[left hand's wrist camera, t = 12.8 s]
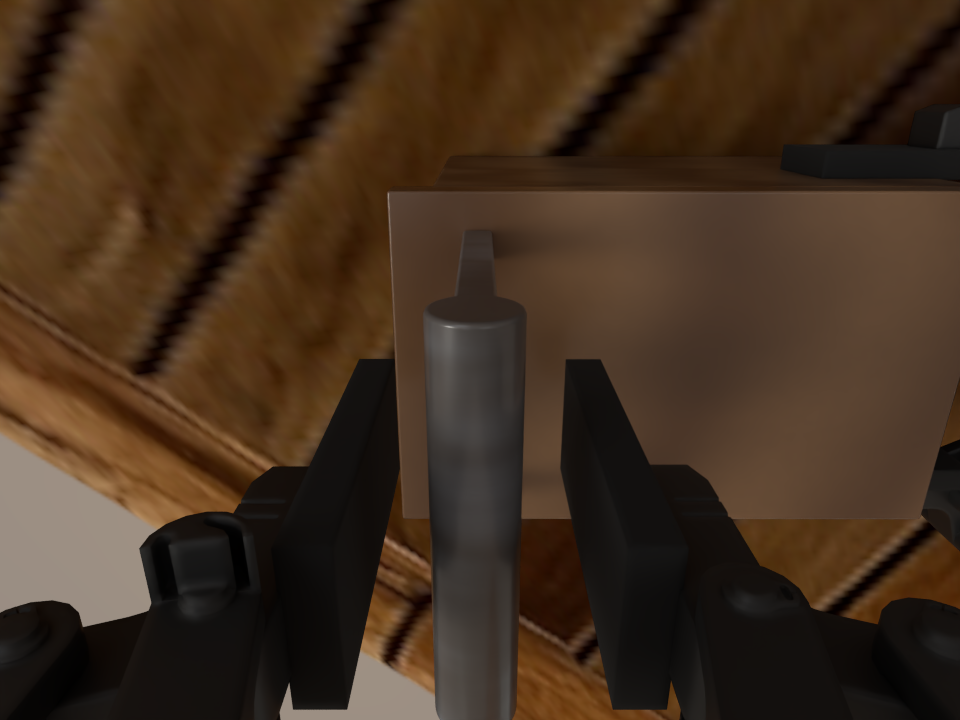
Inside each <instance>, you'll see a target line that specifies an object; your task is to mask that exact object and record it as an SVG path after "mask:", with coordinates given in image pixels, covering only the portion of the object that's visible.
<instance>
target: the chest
mask: <svg viewBox="0 0 960 720" xmlns="http://www.w3.org/2000/svg"><path fill="white" fill-rule="evenodd" d="M781 160H782V156H451V157H450V158H449V159H448V161H447V163H446V164H445V166H444V168H443V170H442V172H441V173H440V175H439V177H438V179H437V180H436V182H435V184H434V186H433V187H960V182H954V181H948V180H942V179H821V178H816V177H812V176H808V175H803V174H799V173H794V172H790V171H785V170H781V169H780V167H781Z"/></svg>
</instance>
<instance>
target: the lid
mask: <svg viewBox="0 0 960 720" xmlns="http://www.w3.org/2000/svg"><path fill="white" fill-rule="evenodd" d="M387 207H388V227H389V247H390V267H391V288H392V308H393V328H394V348H395V369H396V389H397V409H398V429H399V450H400V470H401V490H402V510H403V518H413V519H430V549H431V580H432V611H433V642H434V673H435V704H436V711H437V715H438V717H439V719H440V720H512V718H513V716H514V714H515V711H516V702H517V666H518V629H519V592H520V556H521V519H571V516H570V511H569V506H568V502H567V497H566V493H565V488H564V484H563V479H562V474H561V470H560V462H561V442H562V422H563V403H564V383H565V363H566V359H601V361H602V363H603V366H604V368H605V370H606V372H607V374H608V376H609V378H610V380H611V383H612V385H613V387H614V389H615V391H616V393H617V395H618V398H619V400H620V402H621V404H622V406H623V408H624V410H625V413H626V415H627V417H628V419H629V421H630V423H631V425H632V427H633V430H634V432H635V434H636V436H637V438H638V440H639V442H640V445H641V447H642V449H643V451H644V453H645V455H646V457H647V460H648V462H649V464H650V465H689V466H690V467H691V468H693V469H694V470H695V471H697V472H698V473H699V474H701V475H702V476H703V477H705V478H706V479H707V480H708V481H709V482H710V484H711V486H712V487H713V489H714V490H715V492H716V494H717V495H718V497H719V502H722V504H723V505H724V507H725V509H726V510H727V512H728V517H731V519H919V518H920V516H921V512H922V509H923V505H924V502H925V498H926V495H927V491H928V488H929V484H930V481H931V477H932V473H933V470H934V466H935V463H936V459H937V456H938V452H939V449H940V445H941V442H942V438H943V435H944V431H945V428H946V424H947V421H948V417H949V414H950V410H951V407H952V403H953V400H954V396H955V393H956V389H957V386H958V382H959V379H960V187H392V188H390V189H389V190H388V192H387Z"/></svg>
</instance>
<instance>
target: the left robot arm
mask: <svg viewBox="0 0 960 720" xmlns="http://www.w3.org/2000/svg"><path fill="white" fill-rule="evenodd" d="M399 470H400V462H399V442H398V422H397V402H396V382H395V363H394V359H359V361H358V363H357V366H356V368H355V370H354V372H353V374H352V376H351V378H350V380H349V383H348V385H347V387H346V389H345V391H344V393H343V395H342V398H341V400H340V402H339V404H338V406H337V408H336V410H335V413H334V415H333V417H332V419H331V421H330V423H329V425H328V428H327V430H326V432H325V434H324V436H323V438H322V440H321V442H320V445H319V447H318V449H317V451H316V453H315V455H314V457H313V460H312V462H311V464H310V466H309V467H272V468H270V469H269V470H268V471H266V472H265V473H264V474H262V475H261V476H260V477H258V478H257V479H256V480H254V481H253V482H252V483H251V485H250V487H249V488H248V490H247V492H246V493H245V495H244V497H243V498H242V500H241V504H239V505H238V507H237V508H236V510H235V512H234V513H229V512H203V513H198V514H193V515H188V516H185V517H182V518H180V519H177V520H175V521H173V522H170V523H168V524H165V525H164V526H163V527H161V528H160V529H158V530H157V531H155V532H154V533H152V534H151V535H149V537H148V538H147V539H146V541H145V542H144V543H143V544H142V546H141V547H140V548H139V549H140V554H141V558H142V563H143V567H144V572H145V576H146V580H147V585H148V589H149V594H150V598H151V606H150V609H149V611H147V612H144V613H141V614H137V615H134V616H130V617H126V618H122V619H117V620H113V621H109V622H104V623H100V624H95V625H91V626H87V627H83V626H82V622H81V619H80V615H79V612H78V611H76V610H75V609H74V608H73V607H72V606H71V605H70V604H67V603H62V602H57V601H52V600H51V601H41V602H30V603H27V604H24V605H20V606H17V607H14V608H11V609H8V610H5V611H3V612H1V613H0V720H280V713H279V712H280V709H281V706H282V703H283V700H284V697H285V694H286V690H287V687H288V684H289V683H290V690H291V698H292V705H293V709H294V710H347V708H348V703H349V699H350V694H351V690H352V685H353V680H354V676H355V671H356V667H357V662H358V658H359V653H360V648H361V644H362V639H363V635H364V630H365V626H366V621H367V616H368V612H369V607H370V603H371V598H372V593H373V589H374V584H375V580H376V575H377V571H378V566H379V561H380V557H381V552H382V548H383V543H384V539H385V534H386V529H387V525H388V520H389V516H390V511H391V507H392V502H393V497H394V493H395V488H396V484H397V479H398V475H399ZM560 470H561V474H562V479H563V484H564V488H565V493H566V497H567V502H568V506H569V511H570V516H571V520H572V525H573V529H574V534H575V539H576V543H577V548H578V552H579V557H580V561H581V566H582V571H583V575H584V580H585V584H586V589H587V593H588V598H589V603H590V607H591V612H592V616H593V621H594V625H595V630H596V635H597V639H598V644H599V648H600V653H601V657H602V662H603V667H604V671H605V676H606V680H607V685H608V690H609V694H610V699H611V703H612V708H613V710H667V705H668V698H669V690H670V683H671V681H672V684H673V687H674V690H675V693H676V696H677V699H678V702H679V705H680V708H681V713H680V720H960V609H958V608H956V607H953V606H950V605H947V604H943V603H940V602H937V601H933V600H929V599H918V598H904V599H899V600H895V601H891V602H890V603H889V604H888V605H887V606H886V607H885V608H883V609H882V612H881V615H880V619H879V622H878V624H873V623H869V622H864V621H860V620H855V619H851V618H846V617H842V616H837V615H833V614H829V613H826V612H822V611H819V610H815V609H813V608H811V607H810V605H809V602H808V601H807V599H806V598H805V596H804V595H803V593H802V592H801V590H800V589H799V588H798V587H797V586H796V585H794V584H793V583H792V582H791V581H789V580H788V579H787V578H785V577H784V576H782V575H780V574H778V573H776V572H774V571H772V570H769V569H767V568H765V567H762V566H760V565H759V563H758V562H757V560H756V558H755V557H754V555H753V554H752V552H751V550H750V549H749V547H748V545H747V544H746V542H745V540H744V539H743V537H742V535H741V534H740V532H739V530H738V529H737V527H736V525H735V524H734V522H733V520H732V519H731V517H728V512H727V510H726V509H725V507H724V505H723V504H722V502H719V497H718V495H717V494H716V492H715V490H714V489H713V487H712V486H711V484H710V482H709V481H708V480H707V479H706V478H705V477H703V476H702V475H701V474H699V473H698V472H697V471H695V470H694V469H693V468H691V467H690V466H689V465H650V464H649V462H648V460H647V457H646V455H645V453H644V451H643V449H642V447H641V445H640V442H639V440H638V438H637V436H636V434H635V432H634V430H633V427H632V425H631V423H630V421H629V419H628V417H627V415H626V413H625V410H624V408H623V406H622V404H621V402H620V400H619V398H618V395H617V393H616V391H615V389H614V387H613V385H612V383H611V380H610V378H609V376H608V374H607V372H606V370H605V368H604V366H603V363H602V361H601V359H566V363H565V383H564V403H563V422H562V442H561V462H560Z"/></svg>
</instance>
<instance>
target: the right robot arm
mask: <svg viewBox="0 0 960 720" xmlns="http://www.w3.org/2000/svg"><path fill="white" fill-rule="evenodd" d="M780 169H781V170H785V171H790V172H794V173H799V174H803V175H808V176H812V177H816V178H821V179H942V180H960V104H934V105H931V106H928V107H926V108H923V109H921V110H918V111H916V112H915V114H914V118H913V123H912V127H911V132H910V136H909V141H908V145H784V148H783V154H782V160H781V167H780ZM921 515H922V516H923V517H924V518H925V519H926V520H927V521H928V522H929V523H930V524H931V525H932V526H933V527H934V528H936V529H937V530H938V531H939V532H940V533H941V534H942V535H943V536H944V537H945V538H946V539H947V540H948V541H949V542H950V543H952V544H953V545H954V546H955V547H956V548H957V549H958V550H959V551H960V440H957V441H955V442H952V443H950V444H947V445H945V446H942V447H940V449H939V452H938V456H937V459H936V463H935V466H934V470H933V473H932V477H931V481H930V484H929V488H928V491H927V495H926V498H925V502H924V505H923V509H922V512H921Z"/></svg>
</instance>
